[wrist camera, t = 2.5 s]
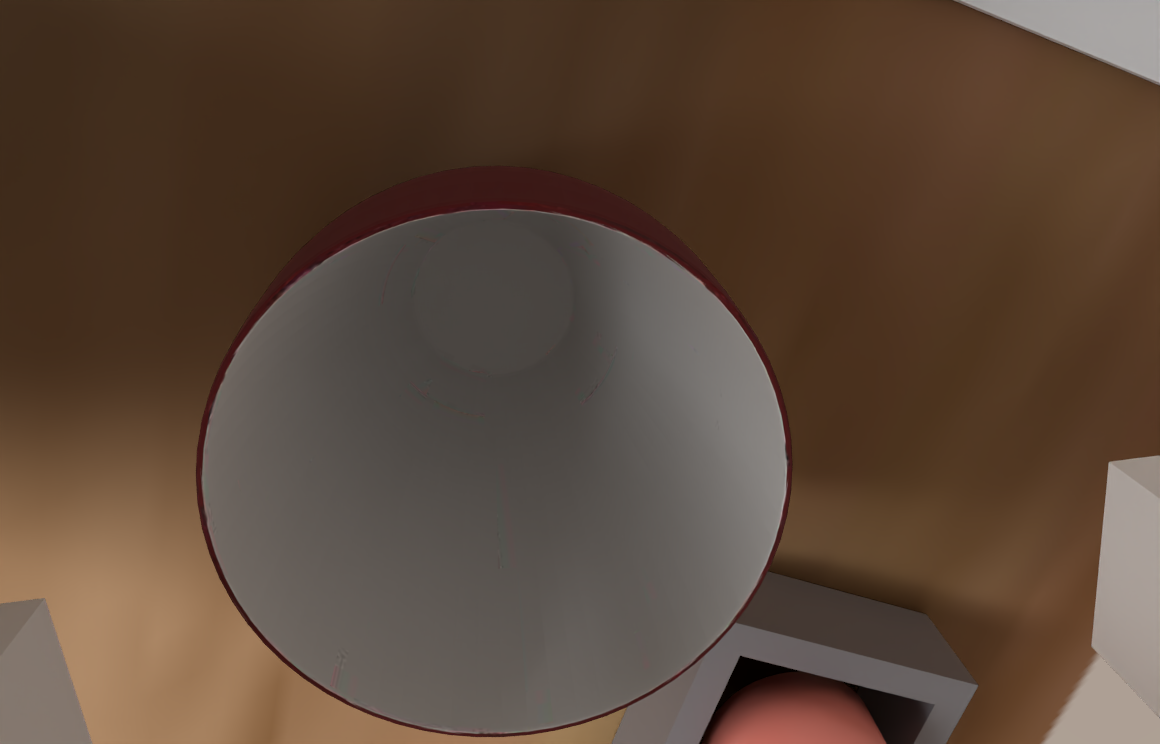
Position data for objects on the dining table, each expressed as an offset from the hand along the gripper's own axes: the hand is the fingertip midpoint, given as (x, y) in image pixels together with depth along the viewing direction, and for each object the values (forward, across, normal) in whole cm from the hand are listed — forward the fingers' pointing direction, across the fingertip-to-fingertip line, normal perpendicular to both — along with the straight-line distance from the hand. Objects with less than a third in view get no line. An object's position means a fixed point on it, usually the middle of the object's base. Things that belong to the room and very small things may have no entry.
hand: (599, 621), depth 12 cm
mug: (+12, 0, 0) cm, 12 cm away
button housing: (+12, +5, -11) cm, 16 cm away
